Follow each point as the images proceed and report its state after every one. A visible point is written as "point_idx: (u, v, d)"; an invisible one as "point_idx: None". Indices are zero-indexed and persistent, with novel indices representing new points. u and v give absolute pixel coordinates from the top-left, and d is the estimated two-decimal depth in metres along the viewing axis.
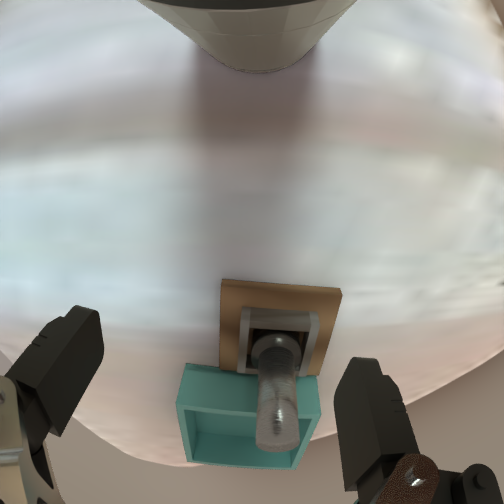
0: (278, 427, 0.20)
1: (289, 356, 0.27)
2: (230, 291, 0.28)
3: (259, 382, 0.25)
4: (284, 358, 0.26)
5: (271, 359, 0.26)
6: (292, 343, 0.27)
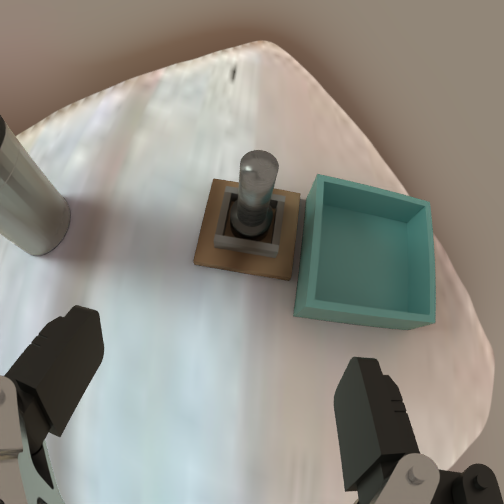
0: None
1: None
2: (198, 254, 0.36)
3: (246, 209, 0.31)
4: None
5: (237, 209, 0.33)
6: (236, 201, 0.35)
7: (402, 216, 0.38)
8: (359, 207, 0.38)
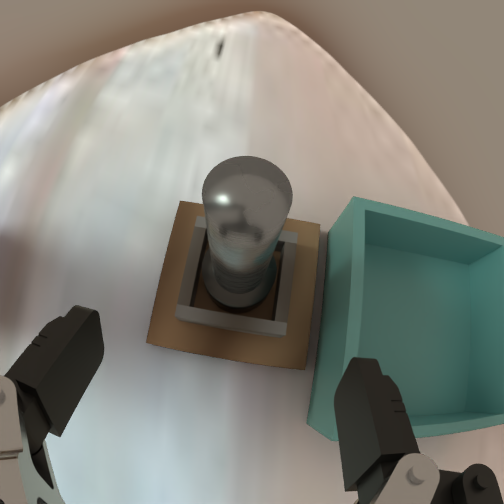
0: None
1: None
2: (154, 331, 0.21)
3: (225, 274, 0.16)
4: None
5: (212, 266, 0.18)
6: None
7: (466, 257, 0.23)
8: (410, 246, 0.23)
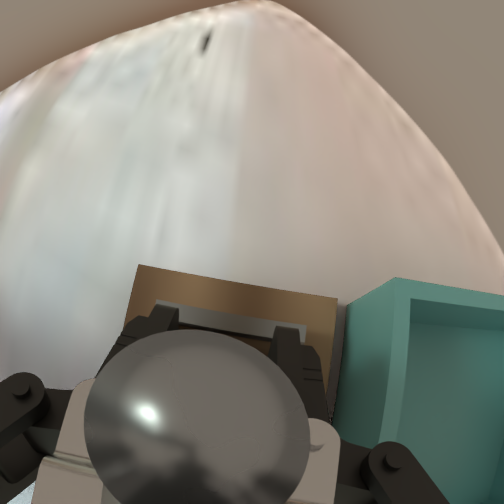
0: None
1: None
2: None
3: None
4: None
5: None
6: None
7: None
8: (454, 323, 0.16)
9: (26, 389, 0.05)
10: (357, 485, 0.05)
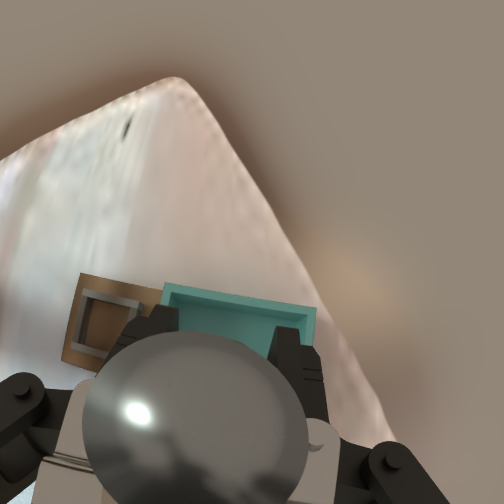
0: None
1: None
2: (65, 354, 0.31)
3: None
4: None
5: None
6: None
7: (286, 317, 0.34)
8: (229, 309, 0.34)
9: (26, 389, 0.05)
10: (357, 485, 0.05)
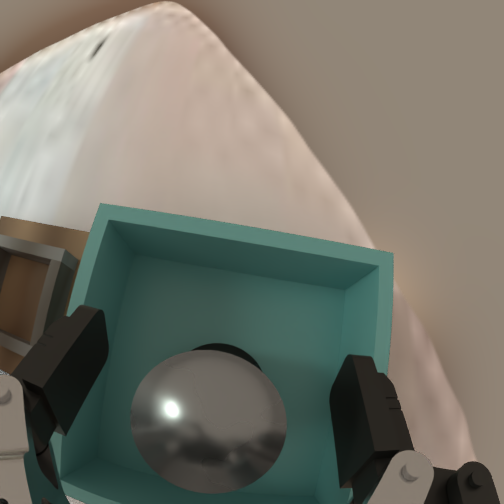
0: None
1: None
2: None
3: None
4: None
5: None
6: None
7: (330, 280, 0.18)
8: (223, 264, 0.18)
9: None
10: None
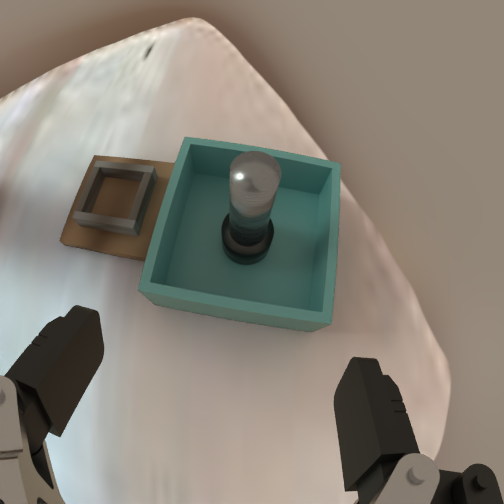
0: None
1: None
2: (65, 233, 0.29)
3: (239, 227, 0.24)
4: None
5: (230, 225, 0.26)
6: (228, 213, 0.28)
7: (308, 185, 0.32)
8: None
9: None
10: None
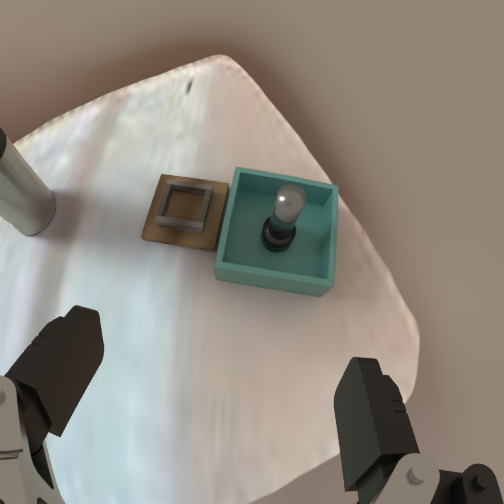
0: (277, 196, 0.36)
1: None
2: (145, 231, 0.45)
3: (278, 227, 0.40)
4: None
5: (270, 226, 0.42)
6: (267, 219, 0.44)
7: (317, 199, 0.48)
8: (277, 193, 0.48)
9: None
10: None
